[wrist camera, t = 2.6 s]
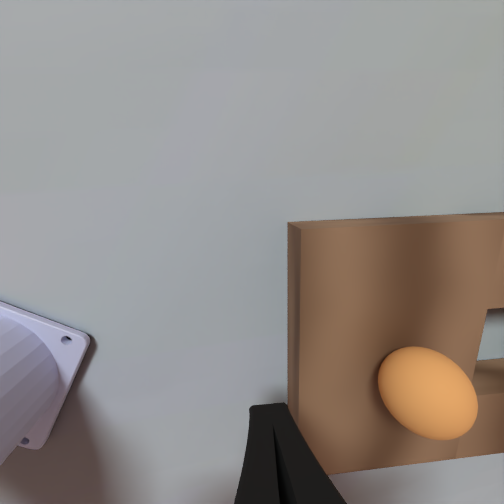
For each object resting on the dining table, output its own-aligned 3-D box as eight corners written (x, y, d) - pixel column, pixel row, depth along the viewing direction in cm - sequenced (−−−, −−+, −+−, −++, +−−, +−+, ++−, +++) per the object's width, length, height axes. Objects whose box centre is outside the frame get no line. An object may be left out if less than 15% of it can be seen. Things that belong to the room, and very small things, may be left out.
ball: (350, 377, 12) (395, 447, 9) (389, 320, 12) (454, 372, 8) (403, 400, 13) (464, 473, 10) (443, 347, 12) (523, 405, 9)
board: (287, 435, 16) (297, 478, 14) (287, 222, 13) (301, 229, 10) (524, 408, 17) (571, 444, 15) (581, 208, 14) (654, 211, 12)
